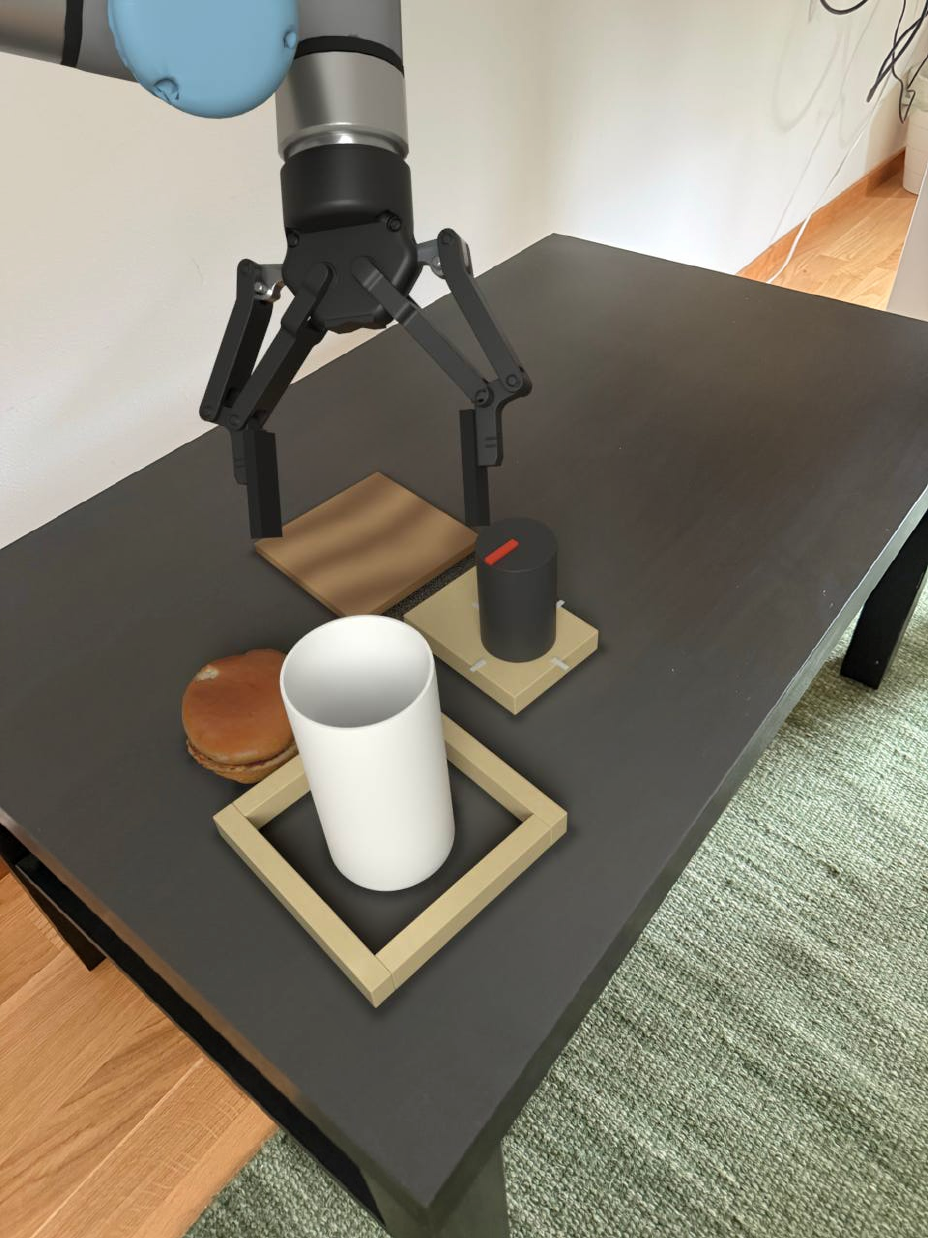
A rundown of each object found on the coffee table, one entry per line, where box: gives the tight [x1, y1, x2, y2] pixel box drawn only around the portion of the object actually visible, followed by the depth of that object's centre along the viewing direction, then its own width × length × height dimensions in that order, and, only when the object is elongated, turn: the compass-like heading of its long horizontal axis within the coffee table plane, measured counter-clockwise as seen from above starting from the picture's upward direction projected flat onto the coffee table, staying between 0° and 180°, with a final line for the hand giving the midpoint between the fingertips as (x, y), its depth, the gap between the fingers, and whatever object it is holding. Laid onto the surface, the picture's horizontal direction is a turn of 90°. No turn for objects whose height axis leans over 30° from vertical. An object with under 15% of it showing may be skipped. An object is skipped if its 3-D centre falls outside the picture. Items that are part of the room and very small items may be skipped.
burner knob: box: [474, 517, 559, 663], centre depth 66 cm, size 6×6×9 cm
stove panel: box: [402, 565, 599, 716], centre depth 71 cm, size 13×10×2 cm
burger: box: [181, 648, 299, 784], centre depth 65 cm, size 10×9×5 cm
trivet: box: [254, 471, 479, 619], centre depth 80 cm, size 14×14×1 cm
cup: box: [280, 615, 456, 892], centre depth 54 cm, size 8×8×16 cm
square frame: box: [212, 711, 568, 1008], centre depth 59 cm, size 16×16×2 cm
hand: (369, 533), depth 56 cm, fingers open, 13 cm apart
